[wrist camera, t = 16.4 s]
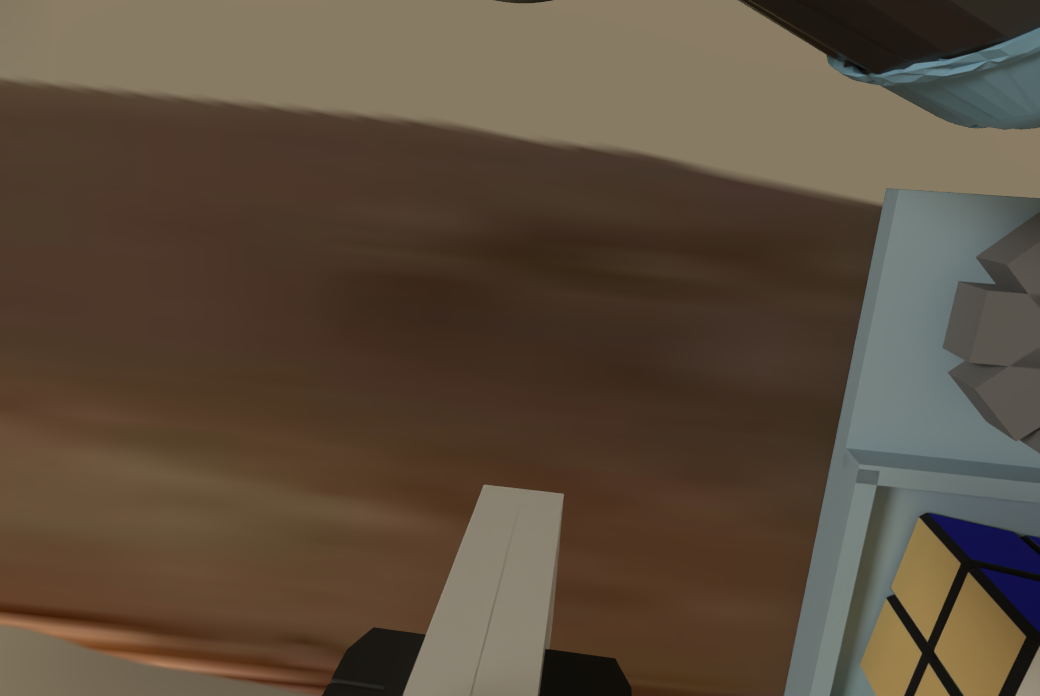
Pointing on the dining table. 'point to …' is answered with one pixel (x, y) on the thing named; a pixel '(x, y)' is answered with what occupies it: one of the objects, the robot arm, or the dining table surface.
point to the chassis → (907, 432)
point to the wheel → (1002, 335)
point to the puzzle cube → (959, 615)
